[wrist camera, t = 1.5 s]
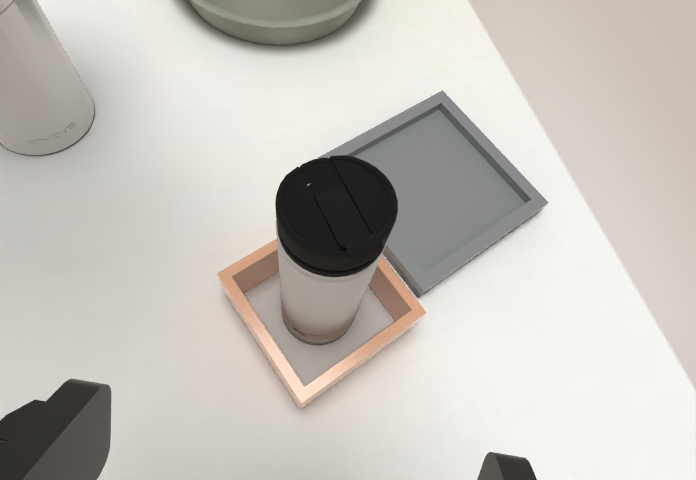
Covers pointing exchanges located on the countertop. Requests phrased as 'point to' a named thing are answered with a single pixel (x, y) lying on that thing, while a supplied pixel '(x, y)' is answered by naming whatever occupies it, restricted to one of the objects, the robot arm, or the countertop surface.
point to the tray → (443, 189)
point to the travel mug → (330, 242)
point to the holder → (405, 315)
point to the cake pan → (276, 18)
